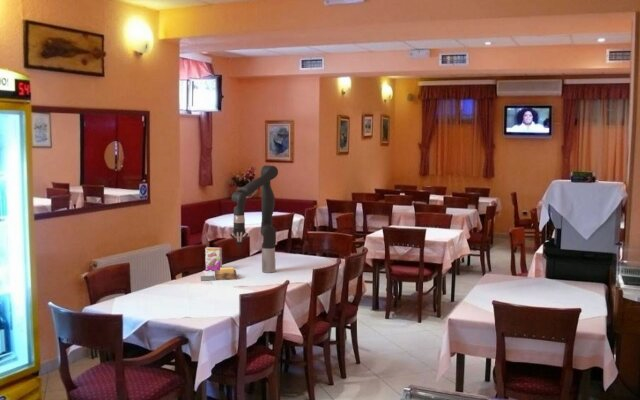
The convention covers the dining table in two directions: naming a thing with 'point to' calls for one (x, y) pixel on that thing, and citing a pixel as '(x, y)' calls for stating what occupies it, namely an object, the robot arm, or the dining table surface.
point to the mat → (207, 278)
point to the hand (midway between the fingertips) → (239, 247)
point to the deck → (225, 275)
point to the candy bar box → (213, 258)
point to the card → (227, 270)
